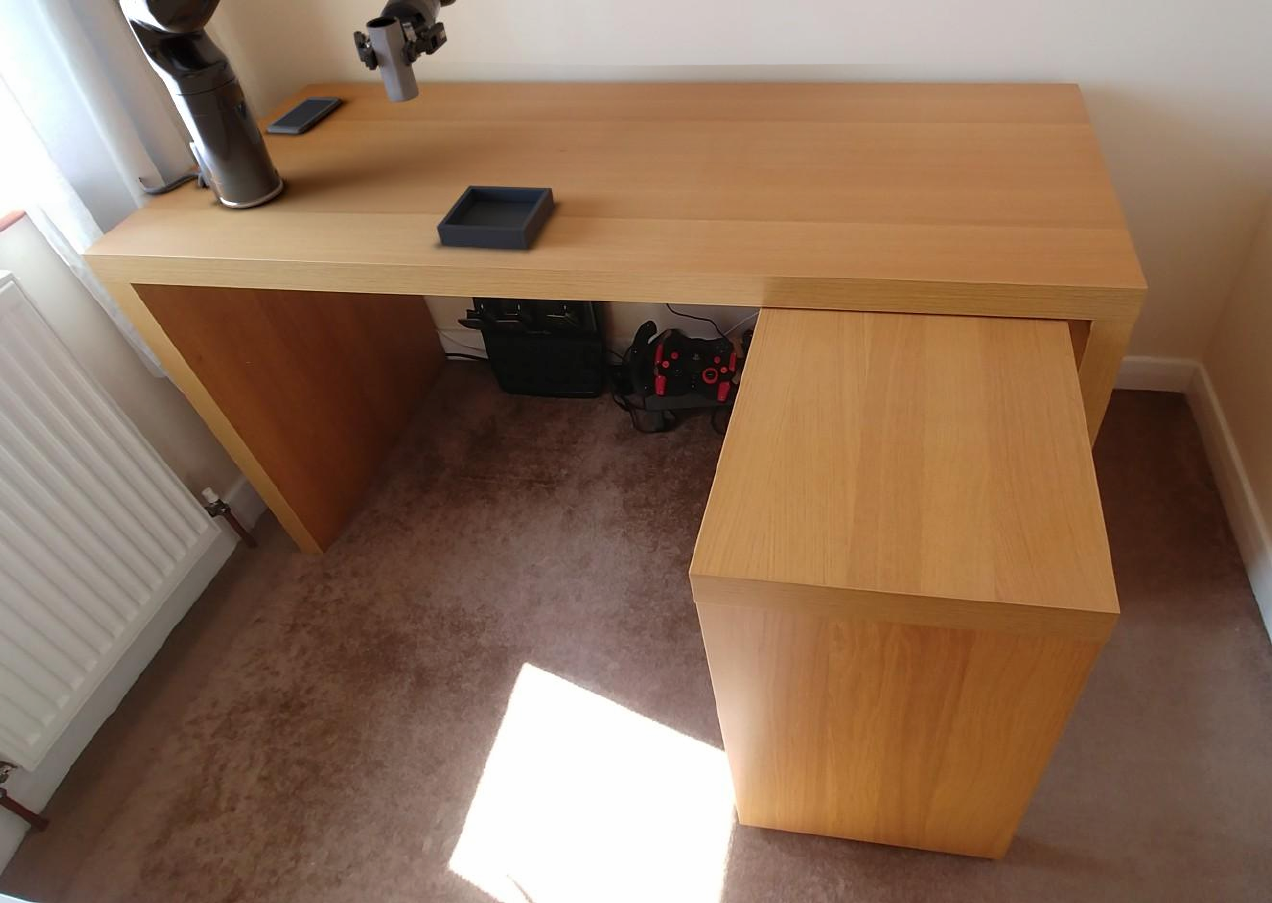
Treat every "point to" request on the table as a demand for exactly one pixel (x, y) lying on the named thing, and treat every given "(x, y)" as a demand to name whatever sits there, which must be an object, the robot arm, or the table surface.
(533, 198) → the tray
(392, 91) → the grey hollow cylinder
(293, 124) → the cell phone
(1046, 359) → the table surface
